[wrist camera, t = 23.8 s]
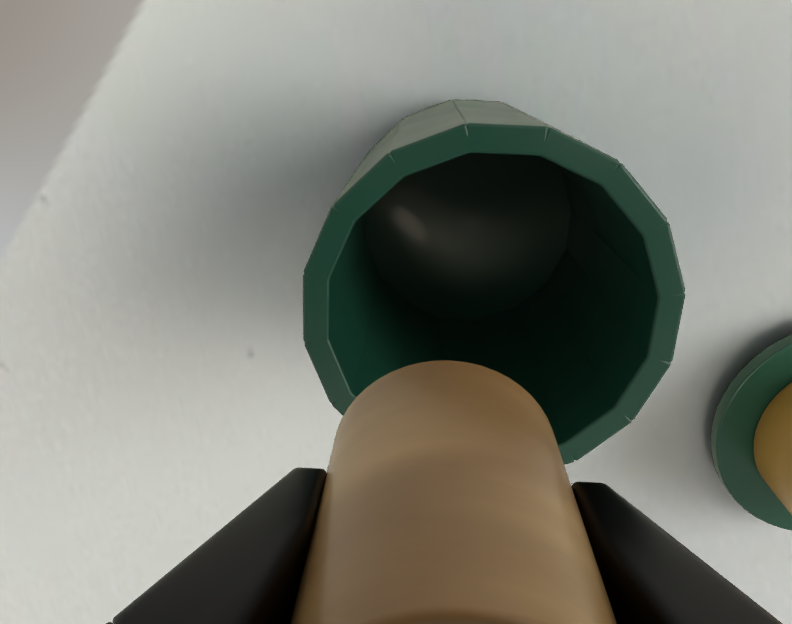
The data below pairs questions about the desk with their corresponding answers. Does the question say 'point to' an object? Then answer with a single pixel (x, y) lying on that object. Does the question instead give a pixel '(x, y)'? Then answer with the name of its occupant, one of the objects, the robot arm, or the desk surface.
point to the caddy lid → (758, 436)
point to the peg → (448, 510)
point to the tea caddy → (497, 268)
